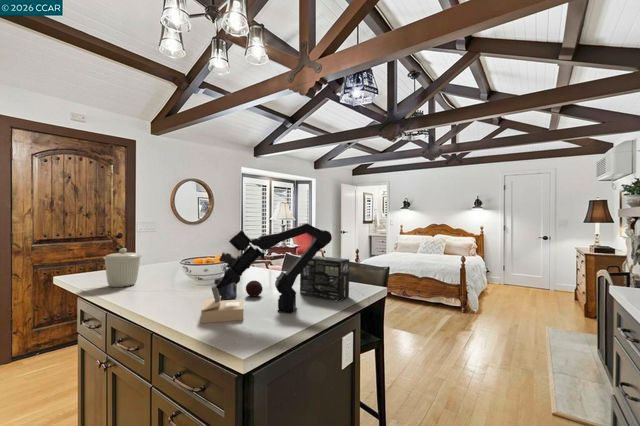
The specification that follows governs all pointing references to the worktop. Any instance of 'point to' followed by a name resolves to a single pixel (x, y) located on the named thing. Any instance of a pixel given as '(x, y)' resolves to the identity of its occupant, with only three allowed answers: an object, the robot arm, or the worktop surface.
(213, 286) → the flap
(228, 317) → the carton
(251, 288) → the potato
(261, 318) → the worktop surface
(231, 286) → the small box
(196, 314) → the worktop surface
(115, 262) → the canister
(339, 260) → the box
